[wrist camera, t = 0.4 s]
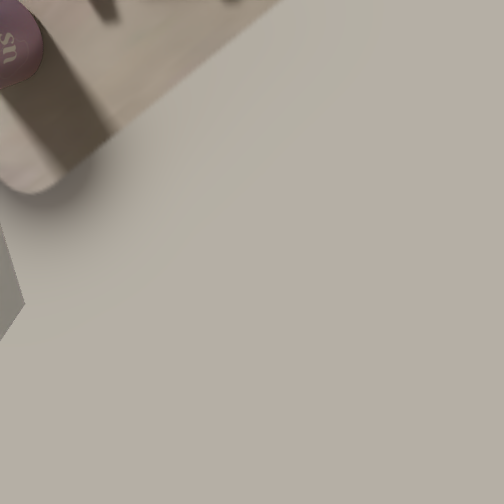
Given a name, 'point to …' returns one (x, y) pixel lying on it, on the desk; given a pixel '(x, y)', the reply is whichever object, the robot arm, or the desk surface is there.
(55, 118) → the desk surface
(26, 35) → the beverage can
